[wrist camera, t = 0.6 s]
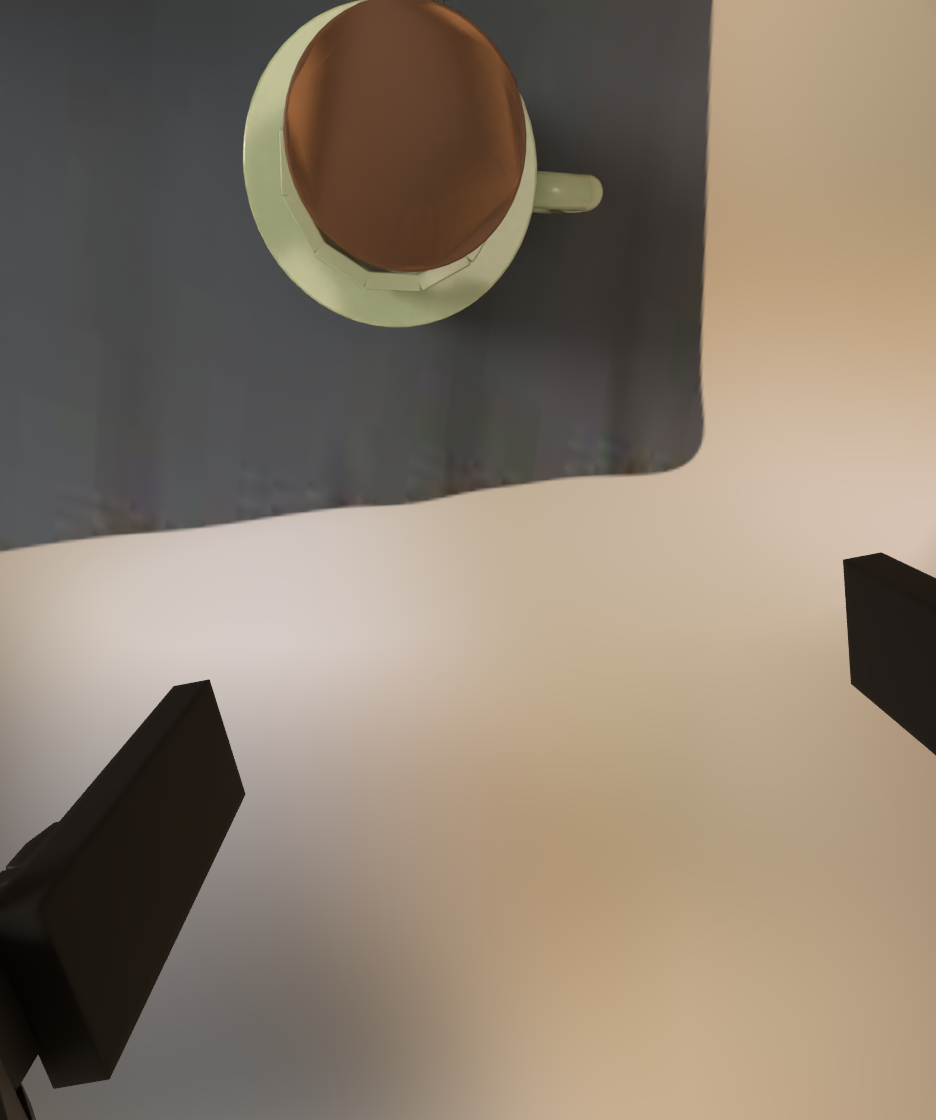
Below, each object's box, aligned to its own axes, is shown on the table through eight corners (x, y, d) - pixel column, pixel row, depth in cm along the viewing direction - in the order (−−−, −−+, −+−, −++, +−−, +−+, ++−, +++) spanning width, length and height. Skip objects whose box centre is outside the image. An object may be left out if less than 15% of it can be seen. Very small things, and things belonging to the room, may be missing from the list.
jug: (274, 55, 36) (218, -44, 23) (563, 81, 38) (665, 4, 25) (283, 296, 41) (241, 329, 27) (542, 309, 42) (619, 345, 29)
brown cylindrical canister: (315, 81, 27) (277, -20, 16) (471, 95, 28) (537, 7, 17) (319, 251, 29) (287, 265, 18) (463, 260, 30) (516, 278, 19)
